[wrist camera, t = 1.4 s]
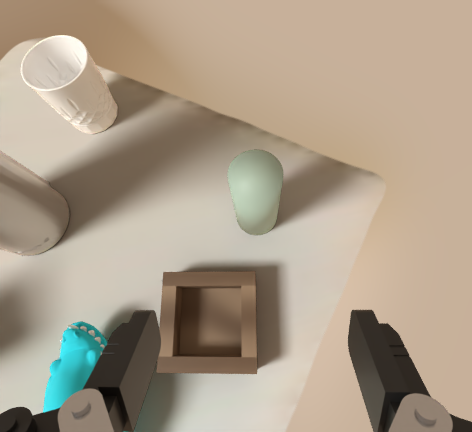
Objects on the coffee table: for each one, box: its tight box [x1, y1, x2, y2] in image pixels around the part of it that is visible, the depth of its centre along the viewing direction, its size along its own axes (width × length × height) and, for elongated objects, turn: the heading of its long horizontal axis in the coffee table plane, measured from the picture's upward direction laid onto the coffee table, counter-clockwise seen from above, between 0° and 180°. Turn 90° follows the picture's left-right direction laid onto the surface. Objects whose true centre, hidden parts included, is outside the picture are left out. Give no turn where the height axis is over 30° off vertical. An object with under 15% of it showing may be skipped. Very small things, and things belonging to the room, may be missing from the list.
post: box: [227, 150, 283, 235], centre depth 35 cm, size 5×5×12 cm
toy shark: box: [43, 322, 126, 432], centre depth 30 cm, size 10×18×11 cm, turn 16°
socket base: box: [157, 271, 257, 374], centre depth 36 cm, size 10×10×4 cm
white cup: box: [21, 35, 118, 134], centre depth 42 cm, size 8×8×10 cm
